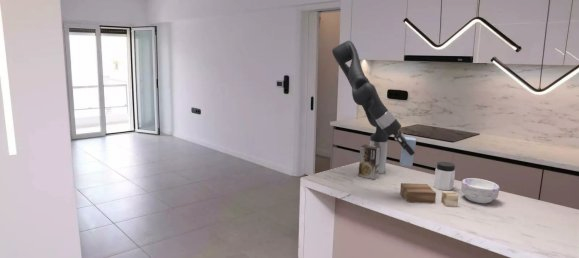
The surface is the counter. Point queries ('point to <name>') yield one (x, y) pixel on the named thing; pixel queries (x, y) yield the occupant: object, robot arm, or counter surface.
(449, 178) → the jar
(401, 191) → the walnut block
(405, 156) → the light blue block
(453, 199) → the maple cube
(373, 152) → the coffee box
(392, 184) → the counter surface
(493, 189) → the paper bowls
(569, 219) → the counter surface
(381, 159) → the robot arm
